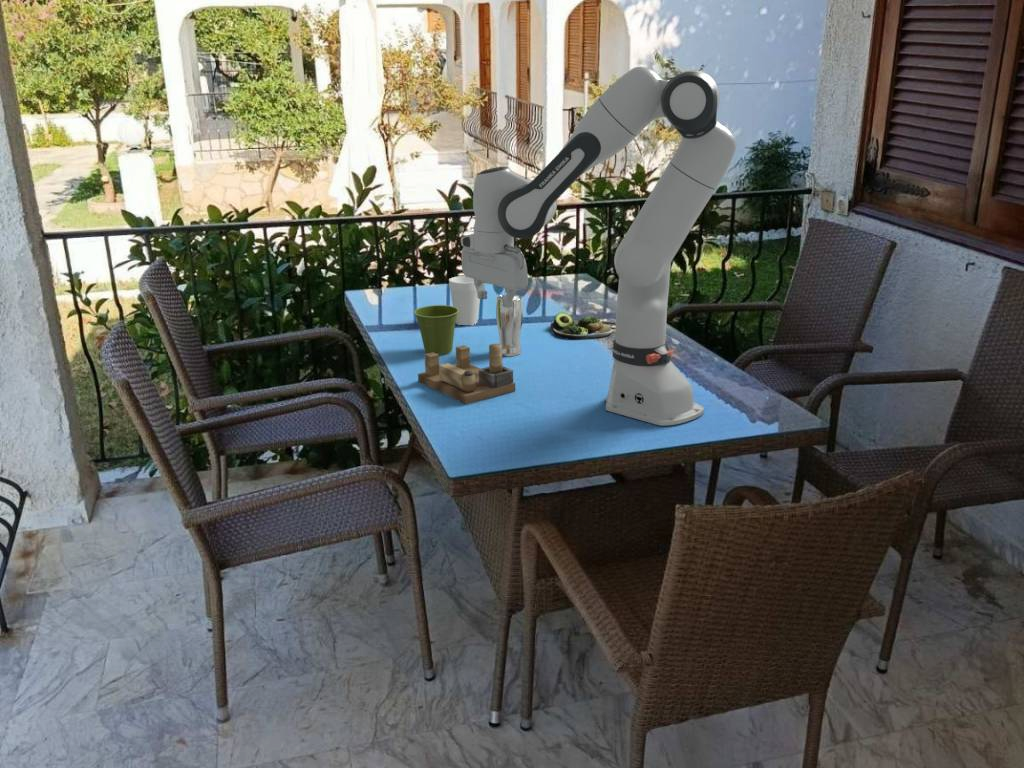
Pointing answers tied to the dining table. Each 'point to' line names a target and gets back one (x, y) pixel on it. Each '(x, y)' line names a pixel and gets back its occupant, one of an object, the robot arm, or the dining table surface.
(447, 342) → the plant pot
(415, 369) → the dining table surface
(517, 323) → the beer glass
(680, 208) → the robot arm
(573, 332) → the salad plate
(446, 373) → the hinged leg
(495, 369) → the oak leg peg
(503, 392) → the wooden assembly base board
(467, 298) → the foam cup
